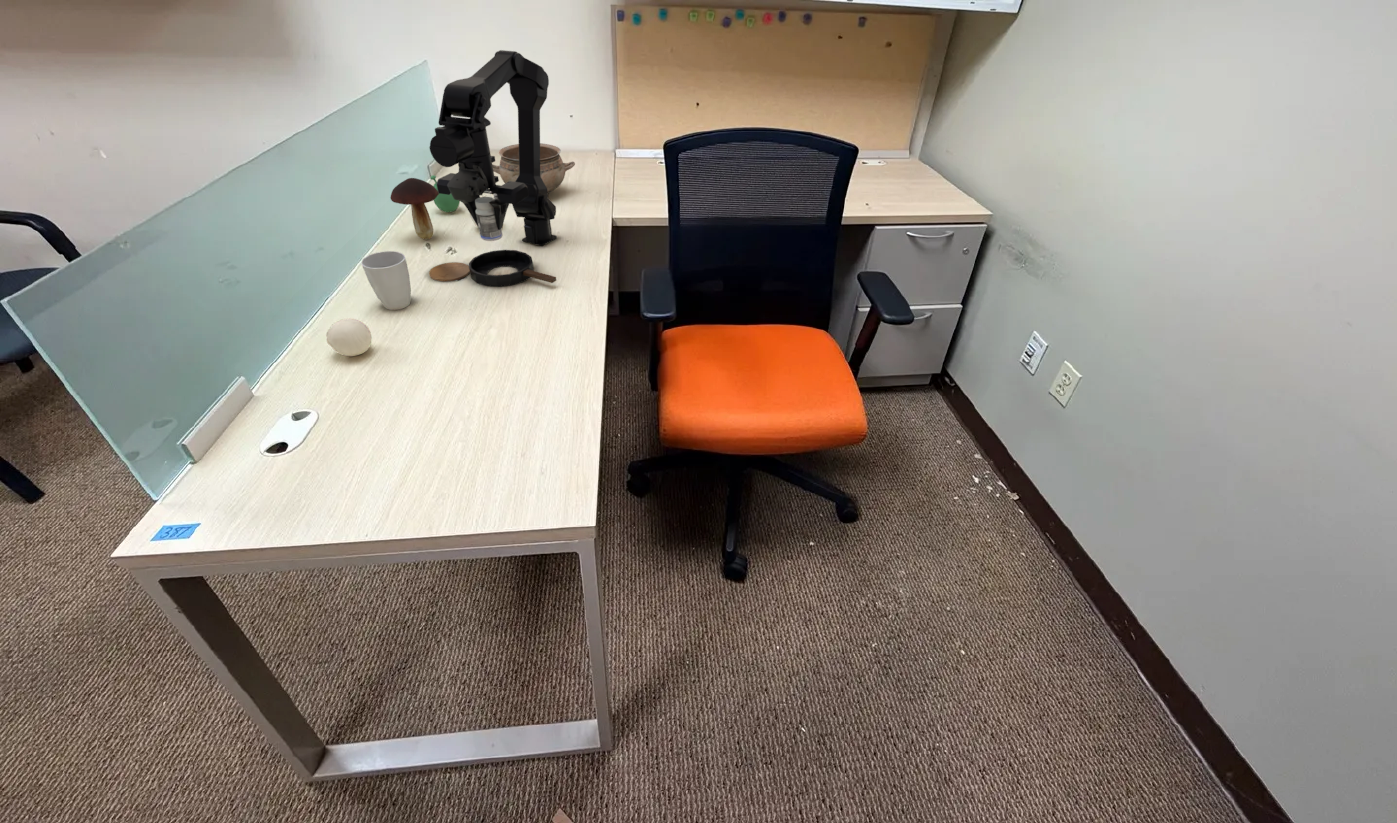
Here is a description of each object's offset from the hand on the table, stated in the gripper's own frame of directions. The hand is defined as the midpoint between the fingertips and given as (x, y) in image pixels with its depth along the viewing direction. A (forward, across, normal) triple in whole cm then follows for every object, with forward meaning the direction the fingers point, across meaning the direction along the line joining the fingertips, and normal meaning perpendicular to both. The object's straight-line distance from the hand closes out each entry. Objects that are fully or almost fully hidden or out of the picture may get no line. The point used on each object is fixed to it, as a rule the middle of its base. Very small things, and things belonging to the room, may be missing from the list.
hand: (489, 227), depth 132 cm
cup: (+11, -12, -20) cm, 26 cm away
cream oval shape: (+11, -7, -38) cm, 40 cm away
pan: (+11, +5, 0) cm, 12 cm away
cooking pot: (+11, -18, +51) cm, 55 cm away
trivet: (+11, -10, -4) cm, 15 cm away
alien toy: (+11, -33, +30) cm, 46 cm away
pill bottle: (+2, 0, 0) cm, 2 cm away
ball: (+11, -16, +22) cm, 30 cm away
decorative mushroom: (+11, -27, +11) cm, 32 cm away
